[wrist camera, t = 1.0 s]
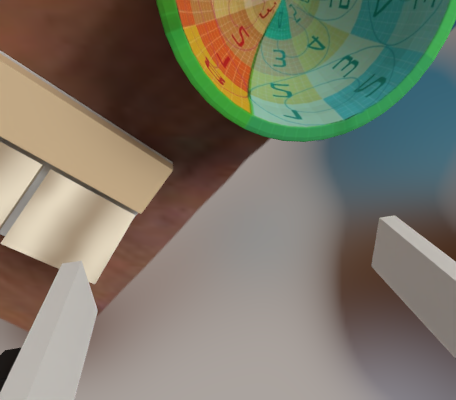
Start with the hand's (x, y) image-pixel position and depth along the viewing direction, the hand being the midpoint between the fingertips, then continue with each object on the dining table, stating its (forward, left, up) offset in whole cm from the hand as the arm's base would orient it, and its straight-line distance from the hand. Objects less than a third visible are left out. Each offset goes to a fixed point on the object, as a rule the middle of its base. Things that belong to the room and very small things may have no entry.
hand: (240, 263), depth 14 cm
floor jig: (-11, -13, -23) cm, 28 cm away
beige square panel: (-6, -15, -20) cm, 26 cm away
